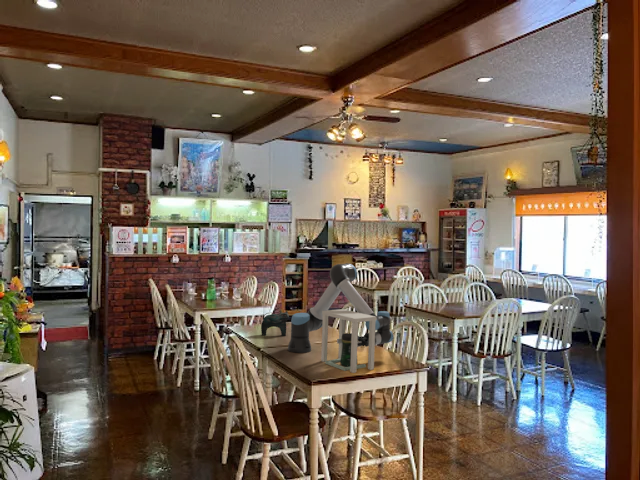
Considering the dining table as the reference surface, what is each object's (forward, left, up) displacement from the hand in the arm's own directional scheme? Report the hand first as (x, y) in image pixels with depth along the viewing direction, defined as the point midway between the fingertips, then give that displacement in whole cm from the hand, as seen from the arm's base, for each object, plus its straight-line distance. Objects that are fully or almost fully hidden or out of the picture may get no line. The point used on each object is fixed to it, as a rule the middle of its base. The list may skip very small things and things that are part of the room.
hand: (344, 343), depth 296 cm
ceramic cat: (-38, +83, -13) cm, 92 cm away
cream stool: (+2, +2, -13) cm, 13 cm away
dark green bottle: (+3, +1, -13) cm, 14 cm away
